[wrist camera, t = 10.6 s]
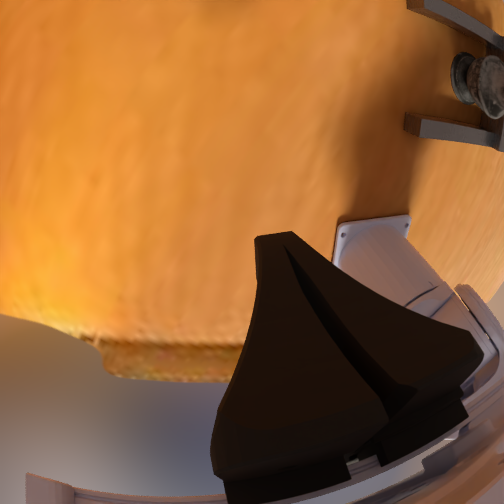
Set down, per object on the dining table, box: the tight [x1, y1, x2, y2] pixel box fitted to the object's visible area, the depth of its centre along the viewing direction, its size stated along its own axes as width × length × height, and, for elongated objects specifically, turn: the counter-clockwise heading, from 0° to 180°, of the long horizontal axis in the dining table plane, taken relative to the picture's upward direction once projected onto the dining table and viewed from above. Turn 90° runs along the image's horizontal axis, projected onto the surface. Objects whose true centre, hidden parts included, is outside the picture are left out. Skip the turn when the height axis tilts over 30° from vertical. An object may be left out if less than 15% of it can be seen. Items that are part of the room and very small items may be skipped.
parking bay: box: [404, 0, 504, 152], centre depth 15 cm, size 12×12×3 cm
